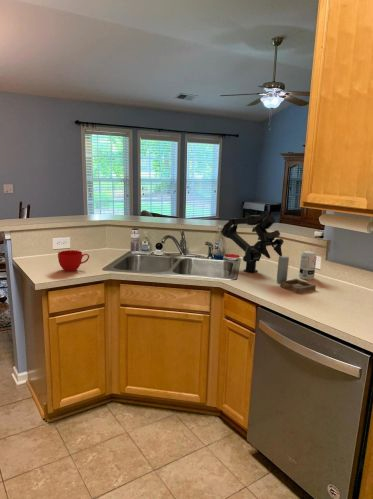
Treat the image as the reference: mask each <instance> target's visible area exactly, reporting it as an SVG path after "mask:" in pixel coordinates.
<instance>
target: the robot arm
mask: <svg viewBox="0 0 373 499" xmlns="http://www.w3.org/2000/svg"><path fill="white" fill-rule="evenodd" d="M275 222H276V219H275V218H274V217H273V215H270V214H269V213H265V214H264V215H263V217H262V216H261V215H260V214H253V215H251V214H250V215H248V216H246V217H232V218H230V219H229V220H228V222H226V223H225V224H224V225H223V227H222V229H221V235H222V236H224V238H227V239H229V240H232V241H233V243H235V244H236V245H237V246H238V247H239V248H240V249H241V250H242V251H244V256H243V257H242V261H243V262H245V269H243V272H247V273H252V274H254V273H257V272H258V269H256V268H257V262H260V260H261V258H262V255H263V256H264V257H265V258H267V259H271V256H270V253H269V251H268V249H267V247H272V248H273V251H274V252H276V254H277V255H278V257H279V256H283V252H282V245H283V243H284V242H285V241H284V240H283V238H279V237H280V236H281V232H280V231H279V229H278V230H274V231H268V229H270V228H271V227H272V226H273V225H274V224H275ZM245 224H246V225H248V226H253V227H252V229H251V232H252V233H256V235H257V237H258V238H257V242H255V243H254V245H250V243H248V242H247V241H246V240H244V239H243V238H242V237H241V236H240V235H239V234H238V231H237V229H238V225H245Z"/></svg>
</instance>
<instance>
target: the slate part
mask: <svg viewBox="0 0 373 499" xmlns="http://www.w3.org/2000/svg"><path fill="white" fill-rule="evenodd" d="M289 259H290V258H289V256H284V255H282V256H279V255H278V261H277V262H278V264H277V271H276V272H277V273H276V284H280V283H281V282H283V281H288V270H289V262H290V260H289Z"/></svg>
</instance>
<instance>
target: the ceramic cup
mask: <svg viewBox="0 0 373 499" xmlns="http://www.w3.org/2000/svg"><path fill="white" fill-rule="evenodd" d="M85 256H87V258H86V259H85V260H83V257H85ZM57 258H58V264H59V266H60V267H61V269H62V270H63V271H64V272H66V273H69V272H70V273H71V272H77V270H78V269H79V267H81V265H82V264H84V263H87V262H88V260H89V259H90V255H89V254H88V253H83V252H82V251H80V250H72V249H71V250H69V249H68V250H62V251H58V252H57ZM82 260H83V261H82Z"/></svg>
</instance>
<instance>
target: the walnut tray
mask: <svg viewBox="0 0 373 499" xmlns="http://www.w3.org/2000/svg"><path fill="white" fill-rule="evenodd" d="M279 284H280V286H279V287H281V288H283V289H286V290H289V291H291V292H294V293H296V294H299V295H301V294H303V293H307V292H313V291H316V288H317V285H316V284H313V283H310V282H309V281H304V280H303V279H300V278H294V279H293V278H292V279H287V281H283V282H281V283H279Z"/></svg>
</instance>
